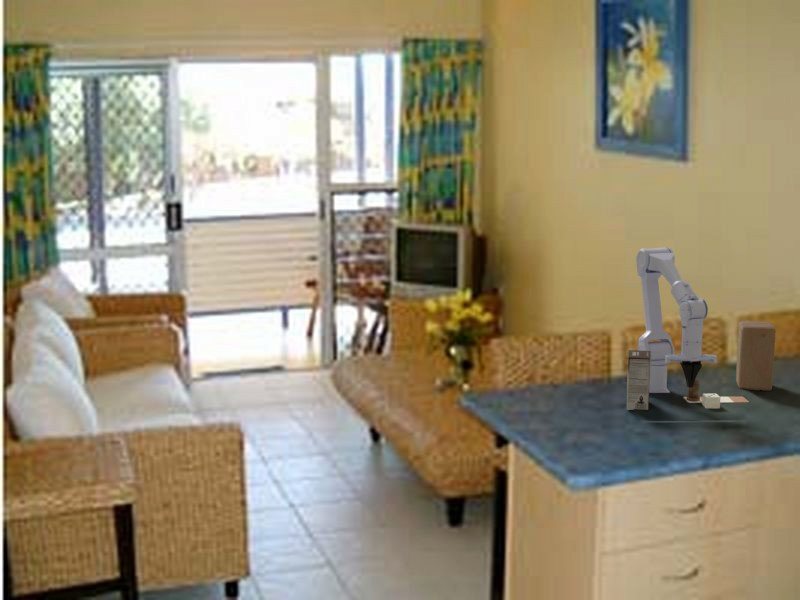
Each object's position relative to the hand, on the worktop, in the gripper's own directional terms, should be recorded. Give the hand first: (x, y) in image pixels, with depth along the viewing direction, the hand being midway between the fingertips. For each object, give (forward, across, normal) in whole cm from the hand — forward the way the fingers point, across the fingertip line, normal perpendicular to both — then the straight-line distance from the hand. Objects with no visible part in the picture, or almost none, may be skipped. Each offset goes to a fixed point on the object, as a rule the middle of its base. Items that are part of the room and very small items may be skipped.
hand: (689, 386), depth 325 cm
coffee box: (+7, -14, +2) cm, 16 cm away
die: (+7, +6, 0) cm, 9 cm away
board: (+6, +10, +7) cm, 14 cm away
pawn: (+6, +3, +7) cm, 10 cm away
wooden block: (+7, +26, +23) cm, 36 cm away
